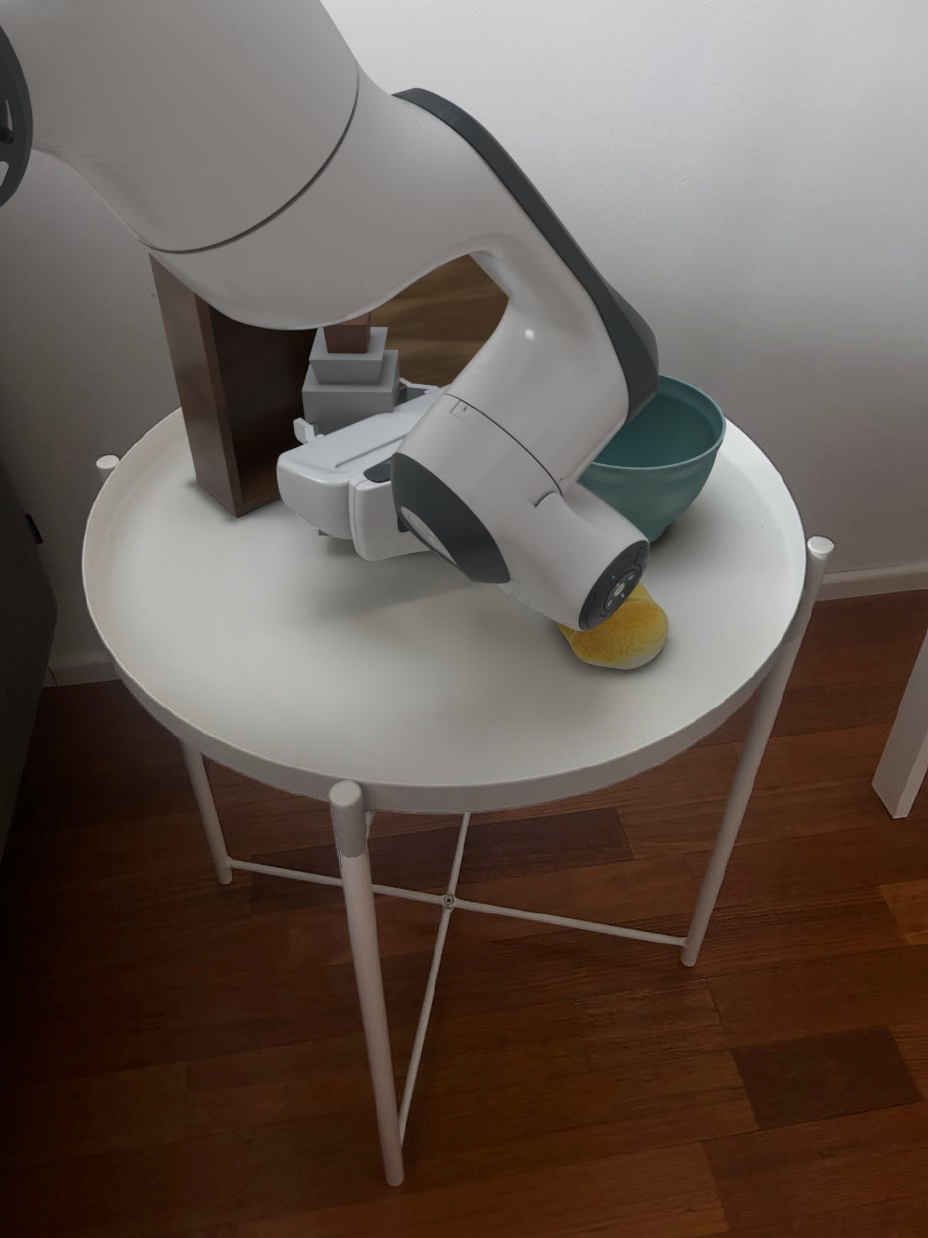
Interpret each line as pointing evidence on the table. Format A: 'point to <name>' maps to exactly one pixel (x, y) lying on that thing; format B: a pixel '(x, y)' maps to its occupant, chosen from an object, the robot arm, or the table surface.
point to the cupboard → (233, 393)
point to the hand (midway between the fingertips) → (347, 406)
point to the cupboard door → (441, 321)
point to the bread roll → (623, 634)
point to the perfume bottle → (350, 376)
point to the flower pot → (659, 457)
